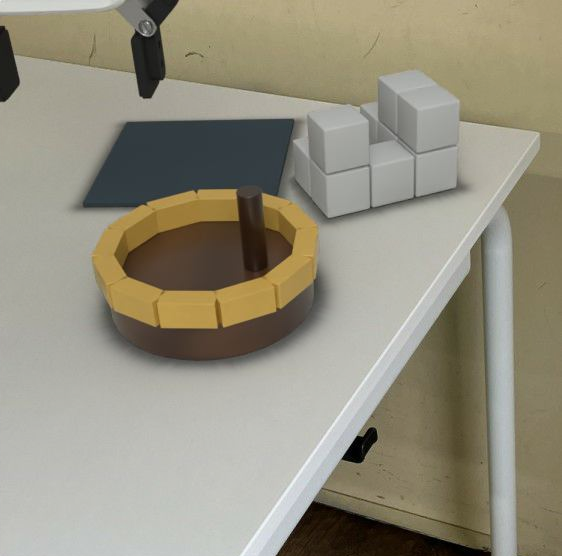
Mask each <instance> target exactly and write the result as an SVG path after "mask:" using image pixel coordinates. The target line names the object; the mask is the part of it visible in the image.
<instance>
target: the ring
mask: <svg viewBox="0 0 562 556" xmlns="http://www.w3.org/2000/svg"><path fill="white" fill-rule="evenodd" d="M236 191H237V189H210V190H198V192H197V194H196V193H195V192H194V190H192V191H188V192H185V193H181V194H177V195H173V196H169V197H165V198H162V199H158V200H154V201H150V202H147V206H145V205H141V206H136V208H134V209H132V210H131V211H129V212H128V213H126V214H124V215H123V216H121V217H119V218H118V219H117V220H115V221H113V222H112V223H110V224H109V225H108V226H107V228H105V229H104V230H103V232H102V234H101V236H100V238H99V240H98V242H97V244H96V246H95V249H94V250H93V252H92V254H91V263H92V268H93V273H94V278H95V282H96V284H97V286H98V288H99V289H100V291H101V293H102V294H103V296H104V298H105V300H106V302H107V304H108V305H109V308H110V307H111V308H114V311H116V312H119V313H121V314H124V315H126V316H129V317H131V318H134V319H137V320H139V321H142V322H144V323H147V324H149V325H152V326H154V327H157V326H158V325H159V324H160V326H161V328H211V329H217V328H218V325H219V322H220V324H221V325H222V326H223V328H224V327H227V326H231V325H234V324H237V323H241V322H244V321H247V320H250V319H254V318H257V317H260V316H263V315H267V314H270V313H273V312H276V307H277V308H280V309H282V308H283V307H284V306H285V305H286V304H288V303H289V302H290V301H291V300H292V299H294V298H295V297H296V296H297V295H298V294H300V293H301V292H302V291H303V290H305V289H306V288H307V287H308V286H309V285H311V284H312V283H313V279H314V280H316V278H317V271H318V265H319V258H320V248H321V247H320V231H319V227H318V224H317V223H316V222H315V221H314V220H313V219H312V218H311V217H310V216H309V215H308V214H307V213H306V212H305V211H304V210H303V209H302V207H300V206H299V205H298V203H293V202H292V201H291V200H289V199H285V198H281V197H279V196H277V197H275V196H272V195H268V194H265V193H262V197H263V209H264V220H265V228H268V229H271V230H274V231H278V232H280V233H281V234H282V235H283V237H284V238H285V239H286V240H287V241H288V242H289V243H290V244H291V245H292V246H293V250H292V255H290V256H289V257H288V258H286V259H285V260H284V261H283V262H281V263H280V264H279V265H277V266H276V267H275V268H274V269H272V270H271V271H270V272H268V273H267V274H266V275H265V276H263V277H261V278H257V279H254V280H250V281H247V282H243V283H240V284H237V285H233V286H230V287H226V288H223V289H220V290H216V291H164V290H161V289H159V288H156V287H153V286H151V285H148V284H145V283H143V282H140V281H137V280H135V279H132V278H129V277H127V275H126V274H125V272H124V271H123V269H122V267H123V265H124V262H125V260H126V258H127V255H128V253H129V252H131V251H132V250H134V249H135V248H137V247H138V246H140V245H141V244H143V243H144V242H146V241H147V240H149V239H150V238H152V237H153V236H155V235H156V234H158V233H160V232H164V231H168V230H171V229H175V228H179V227H182V226H186V225H190V224H193V223H197V222H201V221H239V217H238V207H237V198H236ZM111 308H110V309H111Z"/></svg>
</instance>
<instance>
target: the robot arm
mask: <svg viewBox="0 0 562 556" xmlns="http://www.w3.org/2000/svg"><path fill="white" fill-rule="evenodd" d="M179 2H180V0H0V17H17V16H18V17H19V16H21V17H22V16H47V15H49V16H51V15H52V16H53V15H77V14H78V15H79V14H97V13H105V12H110V11H113V10H115V11H116V12H117V13H119V15H120V16H121V17H122V18H123V19H124V20H125V21H126V22H127V23H129V25H131V26H132V28H134V33H133V35H132V37H131V38H130V48H131V52H132V60H133V66H134V67H133V68H134V71H135V72H134V73H135V79H136V85H137V91H138V96H139V98H142V99H143V100H146V99H147V100H150V99H153V96H154V94H155V92H156V90H157V89H158V87H159V85H160V81H162V82H163V81H164V80H165V78H166V74H167V73H166V71H167V69H166V60H165V54H164V53H165V52H164V46H163V40H162V32H161V25H162V24H163V22H164V21H165V20H166V19H167V18H168V17H169V15H170V14H171V13H172V11H174V9H175V7H176V6H177V5H178V3H179ZM11 40H12V39H11V37H10V33H9V30H8V29H6V25H0V103H5V102H7V101H8V100H9V99H10V98H11V96H12V95H13V94H14V93H15V91H17V89H18V88H19V86H20V85H21V79H20V75H19V71H18V66H17V63H16V58H15V53H14V48H13V45H12V41H11Z"/></svg>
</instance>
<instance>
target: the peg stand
mask: <svg viewBox="0 0 562 556" xmlns="http://www.w3.org/2000/svg"><path fill="white" fill-rule="evenodd" d="M236 198H237V207H238V217H239V221H201V222H197V223H193V224H190V225H186V226H182V227H179V228H175V229H171V230H168V231H164V232H160V233H158V234H156V235H155V236H153V237H152V238H150V239H149V240H147V241H146V242H144V243H143V244H141V245H140V246H138V247H137V248H135V249H134V250H132V251H131V252H129V253H128V255H127V258H126V260H125V262H124V265H123V267H122V269H123V271H124V272H125V274H126V275H127V277H129V278H132V279H135V280H137V281H140V282H143V283H145V284H148V285H151V286H153V287H156V288H159V289H161V290H164V291H216V290H220V289H223V288H226V287H230V286H233V285H237V284H240V283H243V282H247V281H250V280H254V279H257V278H261V277H263V276H265V275H266V274H267V273H268V272H270V271H271V270H272V269H274V268H275V267H276V266H277V265H279V264H280V263H281V262H283V261H284V260H285V259H286V258H288V257H289V256H290V255H292V250H293V246H292V245H291V244H290V243H289V242H288V241H287V240H286V239H285V238H284V237H283V235H282V234H281V233H280V232H278V231H274V230H271V229H268V228H265V220H264V209H263V197H262V189H261V188H260V187H258V186H254V185H247V186H243V187H240V188H239V189H237V191H236ZM314 300H315V279H313V283H312V284H311V285H309V286H308V287H307V288H306V289H305V290H303V291H302V292H301V293H300V294H298V295H297V296H296V297H295V298H294V299H292V300H291V301H290V302H289V303H288V304H286V305H285V306H284V307H283V308H282V309H280V308H277V307H276V312H273V313H270V314H267V315H263V316H260V317H257V318H254V319H250V320H247V321H244V322H241V323H237V324H234V325H231V326H227V327H224V328H223V326H222V325H221V324H220V322H219V325H218V328H217V329H211V328H161V326H160V324H159V325H158V326H157V327H154V326H152V325H149V324H147V323H144V322H142V321H139V320H137V319H134V318H131V317H129V316H126V315H124V314H121V313H119V312H116V311H114V308H111V307H110V306H109V308H110V312H111V317H112V321H113V324H114V326H115V328H116V329H117V331H118V333H119V334H120V335H121V336H122V337H123V338H124V339H125V340H126V341H127V342H128V343H130V344H132V345H133V346H135V347H136V348H139V349H141V350H143V351H145V352H148V353H150V354H152V355H153V354H154V355H156V356H160V357H164V358H169V359H176V360H184V361H185V360H186V361H210V360H212V361H213V360H221V359H228V358H233V357H238V356H242V355H246V354H250V353H252V352H255V351H259V350H260V349H263V348H266V347H268V346H270V345H273V344H274V343H277V342H278V341H280V340H282V339H284V338H285V337H287V336H288V335H290V334H291V333H292V332H293V331H295V330H296V329H297V328H298V327H299V326H300V325H302V323H304V321H305V319H306V318H307V317H308V315H309V314H310V312H311V309H312V308H313V304H314Z"/></svg>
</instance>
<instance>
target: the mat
mask: <svg viewBox="0 0 562 556" xmlns="http://www.w3.org/2000/svg"><path fill="white" fill-rule="evenodd" d="M294 123H295V118H253V119H252V118H250V119H246V118H245V119H197V120H196V119H195V120H192V119H191V120H143V121H137V120H136V121H126V122H125V124H124V126H123V127H122V130H121V131H120V133H119V135H118V137H117V139H116V141H115V143H113V146H112V148H111V150H110V151H109V153H108V155H107V157H106V159H105V161H104V163H103V165H102V166H101V168H100V170H99V172H98V174H97V176H96V178H95V179H94V181H93V182H92V185H91V187H90V189H89V190H88V192H87V194H86V196H85V197H84V200H83V201H82V206H83V207H86V208H87V207H88V208H92V207H93V208H94V207H95V208H96V207H139V206H141V205H145V206H147V202H150V201H154V200H158V199H162V198H165V197H169V196H173V195H177V194H181V193H185V192H188V191H192V190H194V192H195V193H196V194H197V192H198V190H210V189H239V188H240V187H243V186H247V185H254V186H258V187H260V188H261V189H262V193H265V194H268V195H272V196H275V197H278V193H279V187H280V184H281V183H280V182H281V180H282V175H283V171H284V167H285V161H286V158H287V154H288V150H289V145H290V141H291V137H292V132H293V129H294Z"/></svg>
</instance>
